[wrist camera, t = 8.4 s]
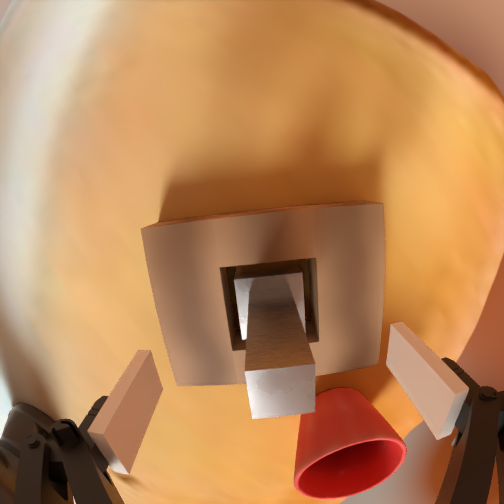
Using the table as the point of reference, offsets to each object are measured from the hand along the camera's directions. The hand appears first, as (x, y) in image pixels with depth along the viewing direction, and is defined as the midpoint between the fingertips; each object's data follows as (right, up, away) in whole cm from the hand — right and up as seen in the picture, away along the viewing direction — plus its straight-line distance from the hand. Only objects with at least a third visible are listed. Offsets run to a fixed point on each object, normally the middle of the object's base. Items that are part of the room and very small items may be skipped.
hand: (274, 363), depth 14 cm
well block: (0, +3, +11) cm, 11 cm away
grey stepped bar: (0, +3, +11) cm, 11 cm away
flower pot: (+8, -12, +14) cm, 21 cm away
